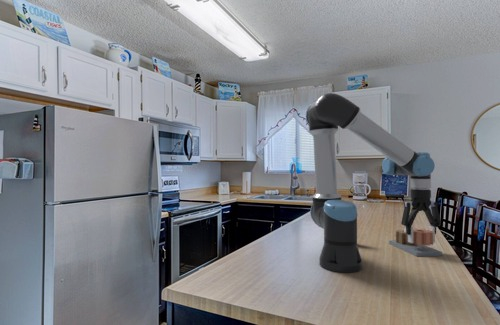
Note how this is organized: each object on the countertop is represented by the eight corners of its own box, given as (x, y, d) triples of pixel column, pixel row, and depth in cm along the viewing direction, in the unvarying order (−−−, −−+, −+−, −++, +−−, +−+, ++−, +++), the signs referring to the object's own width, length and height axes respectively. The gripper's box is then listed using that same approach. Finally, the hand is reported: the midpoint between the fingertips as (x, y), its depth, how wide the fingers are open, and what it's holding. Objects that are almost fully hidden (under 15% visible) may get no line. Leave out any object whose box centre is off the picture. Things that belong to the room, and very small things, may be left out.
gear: (423, 239, 130) (423, 228, 130) (438, 245, 122) (438, 232, 122) (404, 240, 130) (404, 228, 130) (418, 245, 121) (417, 233, 121)
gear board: (442, 255, 121) (441, 235, 121) (416, 256, 120) (416, 236, 120) (411, 243, 141) (411, 226, 141) (389, 243, 140) (388, 226, 140)
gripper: (438, 187, 130) (438, 239, 130) (391, 188, 129) (392, 240, 128) (451, 189, 123) (451, 243, 123) (401, 189, 121) (402, 245, 121)
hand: (421, 242), depth 126 cm, fingers closed on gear, 9 cm apart
